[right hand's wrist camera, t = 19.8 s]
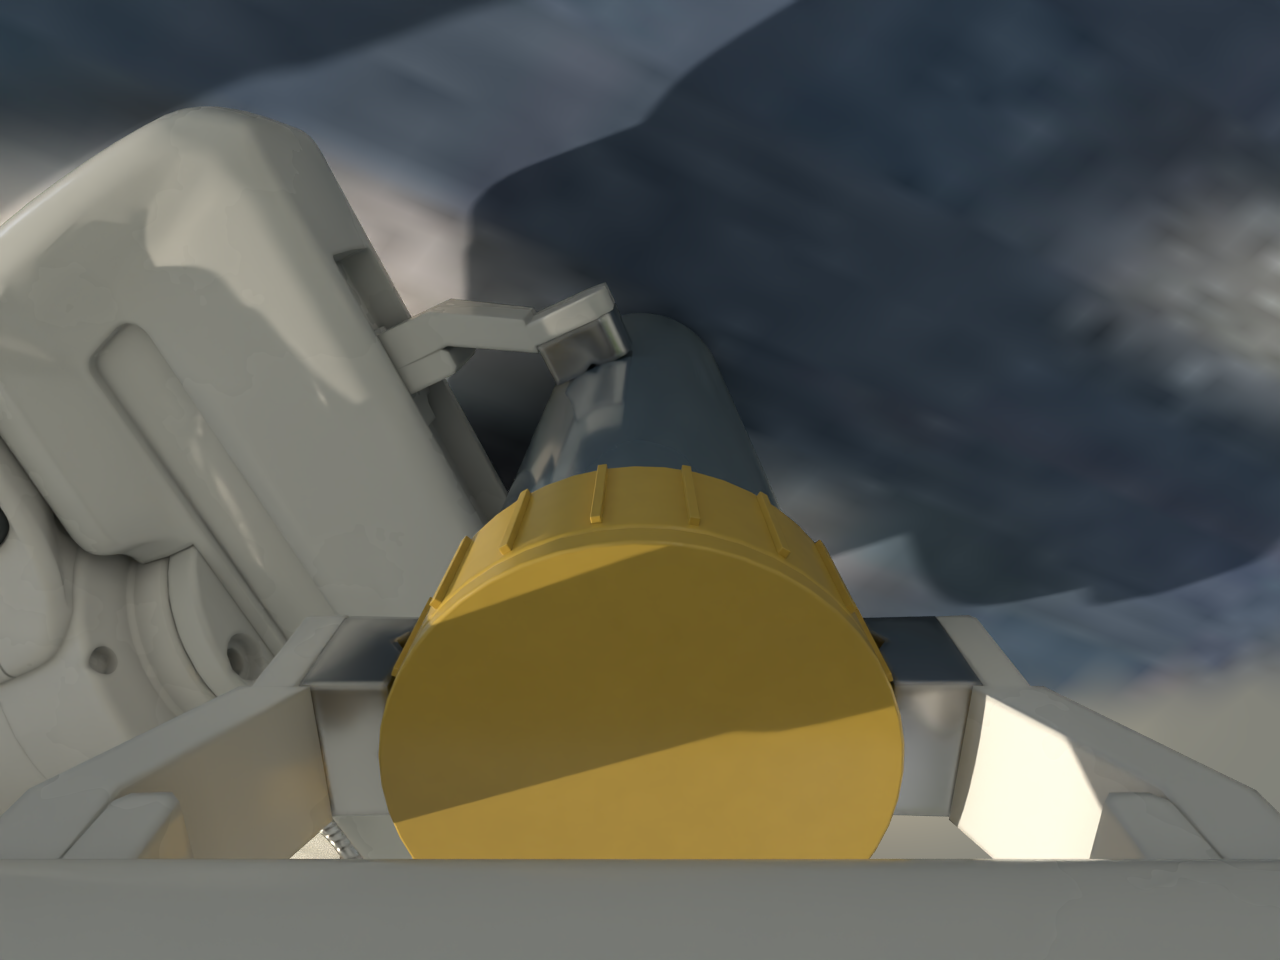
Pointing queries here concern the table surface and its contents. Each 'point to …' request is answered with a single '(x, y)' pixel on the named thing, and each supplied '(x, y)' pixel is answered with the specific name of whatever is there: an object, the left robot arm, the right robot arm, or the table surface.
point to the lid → (641, 685)
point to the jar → (644, 416)
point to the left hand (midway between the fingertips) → (675, 437)
